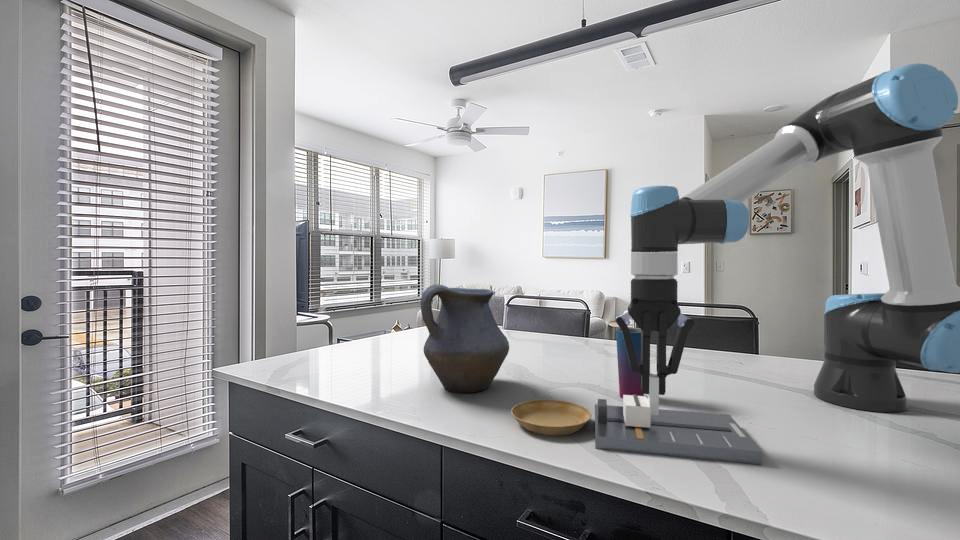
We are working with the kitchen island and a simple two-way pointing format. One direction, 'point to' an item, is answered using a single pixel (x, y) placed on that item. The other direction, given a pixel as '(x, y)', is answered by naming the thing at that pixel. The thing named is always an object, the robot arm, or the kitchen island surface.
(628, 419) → the fader
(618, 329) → the cup
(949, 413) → the kitchen island surface
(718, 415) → the console
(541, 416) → the plant saucer
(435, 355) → the pitcher
